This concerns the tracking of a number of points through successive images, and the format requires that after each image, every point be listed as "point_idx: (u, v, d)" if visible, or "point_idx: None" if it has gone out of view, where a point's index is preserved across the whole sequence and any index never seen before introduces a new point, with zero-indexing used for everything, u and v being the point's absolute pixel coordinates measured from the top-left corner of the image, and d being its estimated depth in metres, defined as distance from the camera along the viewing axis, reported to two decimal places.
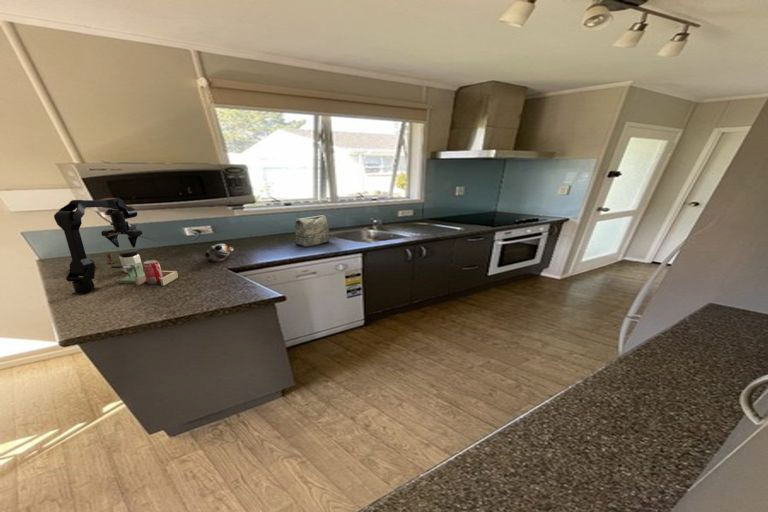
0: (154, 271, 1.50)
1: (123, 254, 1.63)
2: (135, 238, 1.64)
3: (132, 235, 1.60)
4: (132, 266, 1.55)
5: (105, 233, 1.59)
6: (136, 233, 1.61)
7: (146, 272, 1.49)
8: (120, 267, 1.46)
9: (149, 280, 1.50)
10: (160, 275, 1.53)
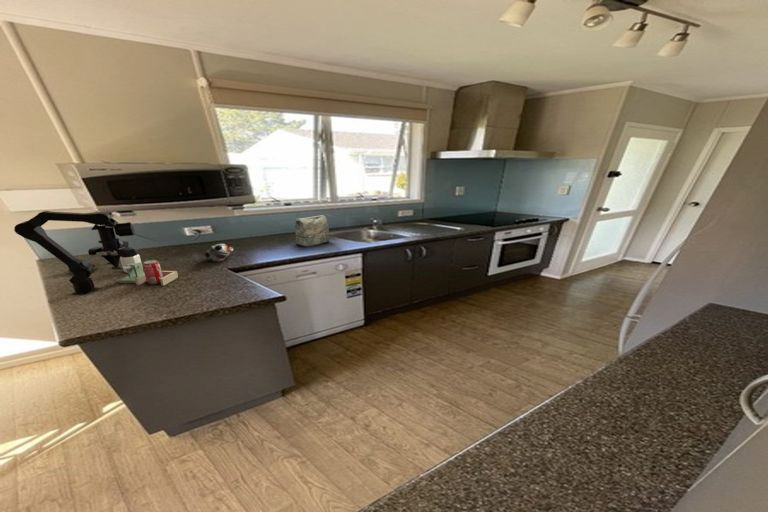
0: (154, 271, 1.50)
1: None
2: (118, 257, 1.45)
3: (123, 254, 1.41)
4: (132, 266, 1.55)
5: (92, 252, 1.41)
6: (128, 252, 1.42)
7: (146, 272, 1.49)
8: (120, 268, 1.46)
9: (149, 280, 1.50)
10: (160, 275, 1.53)
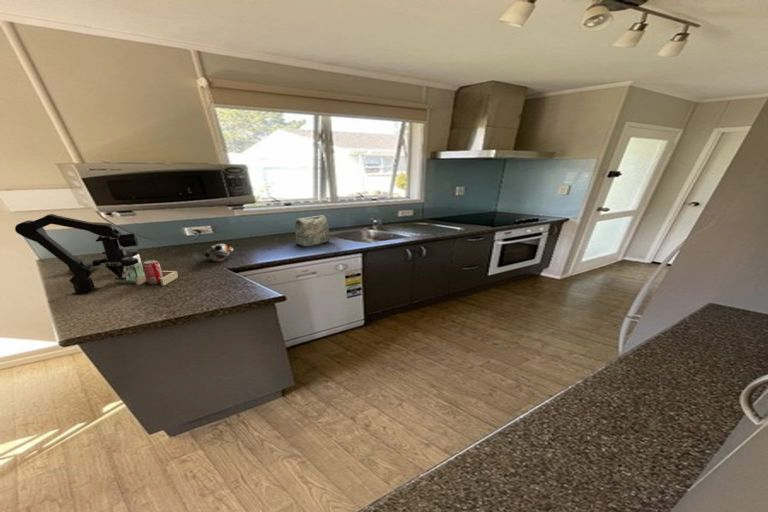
0: (154, 271, 1.50)
1: None
2: (122, 267, 1.48)
3: (127, 265, 1.43)
4: (132, 268, 1.55)
5: (97, 262, 1.43)
6: (131, 262, 1.45)
7: (146, 272, 1.49)
8: (124, 279, 1.48)
9: (149, 280, 1.50)
10: (160, 275, 1.53)
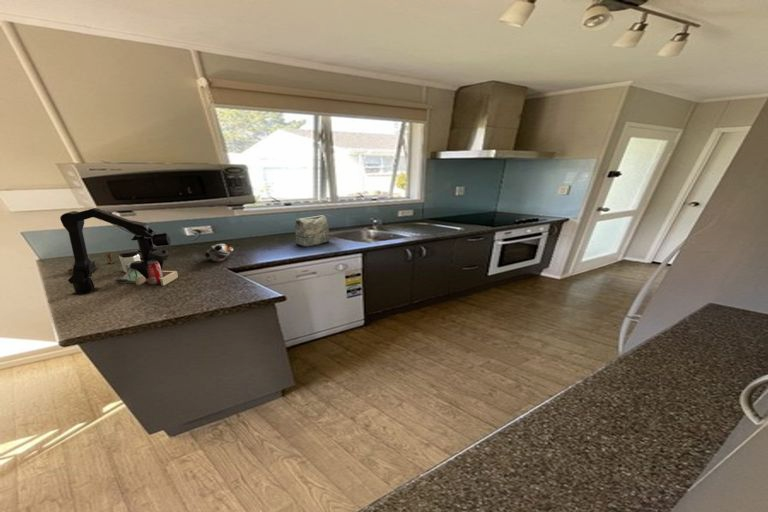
0: (155, 271, 1.50)
1: (123, 254, 1.63)
2: (144, 270, 1.45)
3: None
4: None
5: None
6: (132, 266, 1.41)
7: None
8: (125, 281, 1.49)
9: (149, 280, 1.50)
10: (160, 275, 1.53)
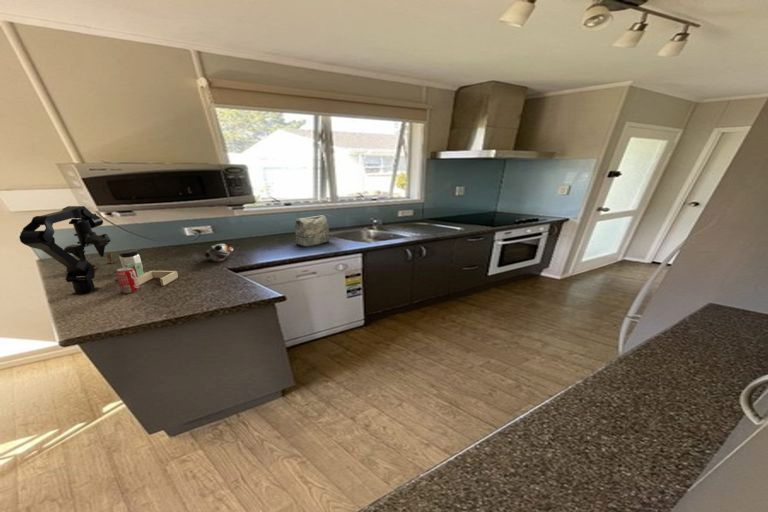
0: (129, 279, 1.40)
1: (123, 254, 1.63)
2: (80, 254, 1.41)
3: None
4: (132, 268, 1.55)
5: None
6: (66, 249, 1.37)
7: (119, 280, 1.38)
8: None
9: (123, 289, 1.40)
10: (136, 283, 1.43)
